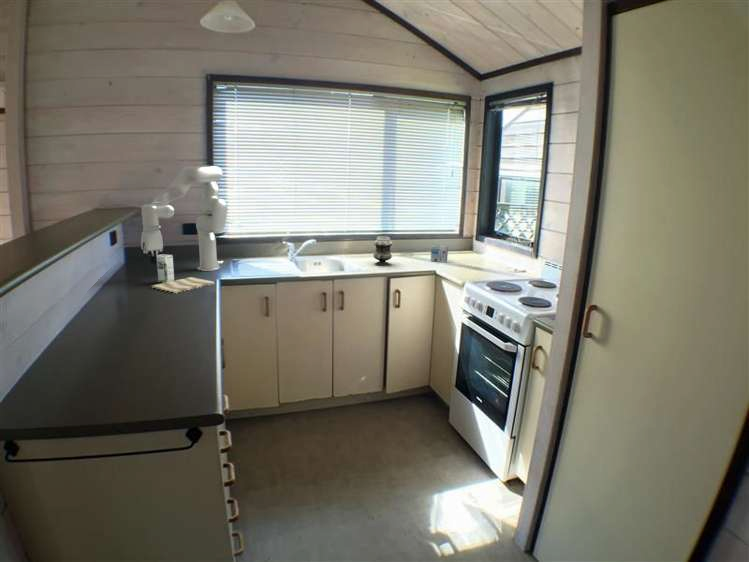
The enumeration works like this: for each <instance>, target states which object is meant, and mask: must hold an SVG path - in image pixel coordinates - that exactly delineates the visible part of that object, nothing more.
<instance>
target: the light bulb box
mask: <svg viewBox="0 0 749 562" xmlns="http://www.w3.org/2000/svg"><path fill="white" fill-rule="evenodd" d="M430 250H431V251H430V262H432V263H442V264H443V263H445V264H446V263H447V262H448V256H449V255H448V253H449V245H443V244H442V245H440V244H432V245H431V249H430Z"/></svg>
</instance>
